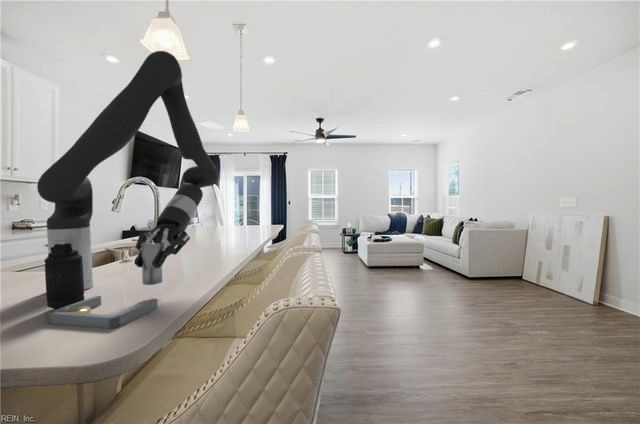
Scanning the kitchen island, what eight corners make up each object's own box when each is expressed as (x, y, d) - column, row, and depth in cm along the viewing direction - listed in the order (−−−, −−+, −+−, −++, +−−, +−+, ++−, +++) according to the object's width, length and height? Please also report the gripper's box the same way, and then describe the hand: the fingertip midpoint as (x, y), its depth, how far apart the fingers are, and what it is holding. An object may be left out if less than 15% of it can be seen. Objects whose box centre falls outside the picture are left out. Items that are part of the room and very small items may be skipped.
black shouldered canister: (92, 303, 72) (88, 241, 71) (66, 314, 65) (62, 245, 65) (64, 303, 72) (61, 241, 72) (36, 313, 66) (32, 245, 65)
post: (138, 284, 74) (137, 243, 73) (151, 279, 78) (150, 241, 78) (153, 285, 73) (153, 244, 73) (166, 280, 77) (165, 242, 77)
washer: (68, 323, 60) (67, 316, 60) (64, 317, 63) (64, 310, 63) (92, 317, 63) (92, 310, 63) (88, 311, 66) (88, 304, 66)
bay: (45, 323, 60) (45, 313, 60) (97, 304, 71) (96, 295, 71) (114, 328, 57) (114, 318, 57) (157, 307, 68) (157, 298, 68)
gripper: (148, 205, 84) (111, 256, 72) (194, 205, 81) (164, 258, 69) (162, 222, 89) (130, 272, 78) (206, 223, 86) (179, 275, 75)
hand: (146, 265), depth 74 cm, fingers closed on post, 4 cm apart
